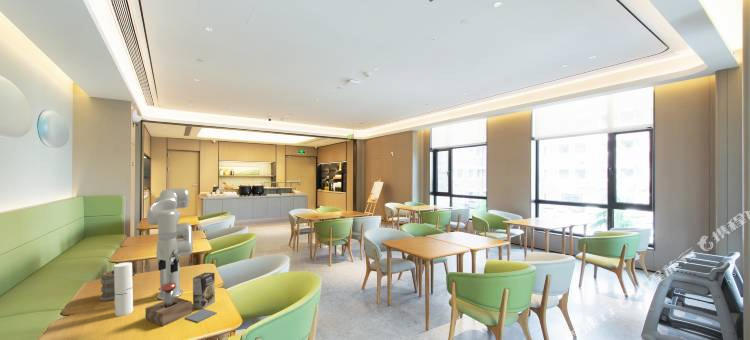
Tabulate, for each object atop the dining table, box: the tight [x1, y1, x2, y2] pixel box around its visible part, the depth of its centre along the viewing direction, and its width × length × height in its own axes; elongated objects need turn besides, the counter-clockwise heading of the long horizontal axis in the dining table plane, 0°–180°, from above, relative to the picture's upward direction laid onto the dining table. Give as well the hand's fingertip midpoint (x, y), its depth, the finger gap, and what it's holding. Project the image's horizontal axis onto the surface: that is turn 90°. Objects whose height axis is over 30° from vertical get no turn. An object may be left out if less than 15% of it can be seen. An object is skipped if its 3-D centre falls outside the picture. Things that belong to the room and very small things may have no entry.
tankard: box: [99, 269, 136, 302], centre depth 178 cm, size 20×13×15 cm, turn 76°
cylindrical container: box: [113, 261, 134, 317], centre depth 157 cm, size 7×7×25 cm
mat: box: [184, 308, 218, 323], centre depth 153 cm, size 10×10×1 cm
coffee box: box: [192, 272, 216, 310], centre depth 165 cm, size 9×6×16 cm
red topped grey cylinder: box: [161, 283, 176, 308], centre depth 153 cm, size 6×6×16 cm
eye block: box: [144, 297, 193, 327], centre depth 153 cm, size 14×14×6 cm
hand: (168, 270), depth 152 cm, fingers open, 9 cm apart
